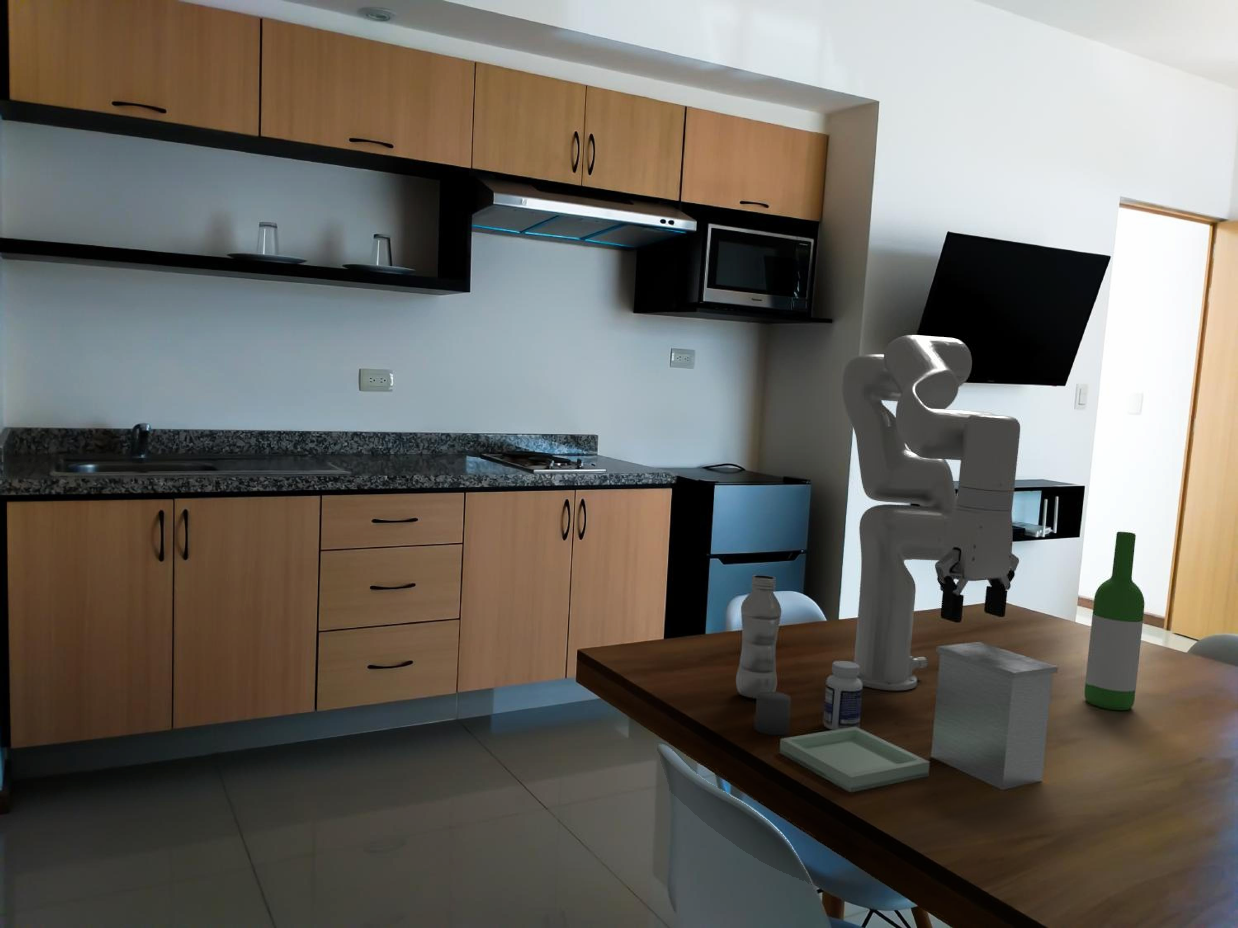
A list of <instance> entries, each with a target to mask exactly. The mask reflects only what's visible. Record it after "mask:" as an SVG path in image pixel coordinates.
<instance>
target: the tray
mask: <svg viewBox="0 0 1238 928" xmlns="http://www.w3.org/2000/svg"><path fill="white" fill-rule="evenodd" d="M779 754H781V755H783V756H784V757H787V758H788V759H790V760H791V761H793V762H795V763H797V764H799V765H801V766H802V767H804V768H806V769H807V770H809V771H811V772H813V773H814V774H816V775H818V776H820V777H822V778H824V779H825V780H827V781H829V782H831V783H833V784H834V785H835V786H837V787H839V788H841V789H843V790H845V791H847V792H849V793H855V792H859V791H865V790H870V789H875V788H877V787H883V786H889V785H892V784H893V785H894V784H898V783H903V782H907V781H908V782H909V781H911V780H918V779H921V778H922V779H923V778H926V777H929V772H930V763H931V761H929V760H927V759H925V758H923V757H921V756H918V755H917V754H914V753H912V752H910V751H908V750H906V749H903V748H902V747H900V746H897V745H895V744H893V743H890V742H889V741H887V740H885V739H884V738H883V739H882V738H880V737H878V736H876V735H874V734H872V733H870V732H868V731H866V730H863V728H862V729H861V728H860V727H859V728H857V727H850V728H844V729H838V730H826V731H821V732H814V733H808V734H802V735H797V736H790V737H784V738H780V742H779Z"/></svg>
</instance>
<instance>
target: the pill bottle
mask: <svg viewBox="0 0 1238 928" xmlns="http://www.w3.org/2000/svg"><path fill="white" fill-rule="evenodd" d="M831 672H832V673H833V674H831V675H829V676H828V677H827V679H826V683H825V692H824V693H825V695H824V696H825V697H824V705H823V706H824V707H823V721H822V723H823V725H824V727H825V728H827V729H828V730H830V731H832V730H838V729H844V728H850V727H857V728H859V729H860V724H861V713H862V712H861V710H862V709H861V708H862V697H863V695H862V694H863V687H864V686H863V685H862V682H861V680H860V679H858V678H857V676H858V675H859V665H858V664H856V663H854V661H848V660H835V661H833V662H832V666H831Z"/></svg>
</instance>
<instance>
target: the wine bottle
mask: <svg viewBox="0 0 1238 928" xmlns="http://www.w3.org/2000/svg"><path fill="white" fill-rule="evenodd" d="M1115 536H1116V537H1115V546H1114V553H1113V563H1112V570H1111V571H1112V572H1111V576H1110V578H1108V579H1107V580H1105V581H1103V582H1102V583H1101V584H1100V585H1099V586H1098V587H1097V589H1096V591H1095V593H1094V597H1093V608H1092V616H1091V625H1090V634H1089V645H1088V654H1087V662H1086V673H1085V684H1084V698H1085V700H1086V701H1087V702H1088V703H1090V704H1091V705H1093V706H1095V707H1099V708H1102V709H1106V710H1110V711H1111V710H1112V711H1127V710H1130V709H1132V708H1133V706H1134V705H1135V699H1136V698H1135V697H1136V691H1137V690H1136V689H1137V683H1138V681H1137V680H1138V672H1139V663H1140V662H1139V661H1140V651H1141V643H1142V635H1143V634H1142V633H1143V624H1144V623H1143V622H1144V612H1145V598H1144V595H1143V592H1142V590H1141V589H1140V587H1139V586H1138V585H1137V584H1136V583H1135V582H1134V581H1133V568H1134V558H1135V549H1136V548H1135V546H1136V536H1137V535H1136V533H1134V532H1129V531H1117V532H1116V535H1115Z"/></svg>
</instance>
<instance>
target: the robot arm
mask: <svg viewBox="0 0 1238 928" xmlns="http://www.w3.org/2000/svg"><path fill="white" fill-rule="evenodd" d="M972 365H973V359H972V355H971V351H970V349H969V347H968V346H967V345H966V343H964V342H963V341H962V340H961V339H957V338H954V337H944V336H931V335H919V334H907V335H903V336H899V337H896V338H895V339H893V340H892V341H891V342H889V344H888V345H887V346H886V348H885V350H884V352H883V354H881V353H880V354H879V353H875V354H874V353H873V354H863V355H858V356H856V357H853V358H852V359H850V360H849V361H848V362H847V364H846V366H845V368H844V370H843V374H842V385H841V388H842V389H841V390H842V391H841V392H842V398H843V399H842V400H843V403H844V407H845V411H846V412H847V413H846V414H847V416H848V418H849V420H850V424H851V426H852V428H853V431H854V434H855V439H856V449H857V456H858V465H859V472H860V478H861V479H860V481H861V484H862V485H861V486H862V488H863V492H864V493H865V495H866V496H867V497H868V498H869V499H871V500H873V501H876V502H884V503H888V504H879V505H878V504H877V505H873V506H871V507H870V508H867V509H866V510H865V511H864V512H863V513H862V515H861V518H860V520H859V526H858V528H859V533H858V534H859V542H860V543H859V544H860V557H861V560H860V561H861V563H860V564H861V567H860V568H861V569H860V570H861V571H860V584H859V597H858V598H859V599H858V608H857V609H858V611H857V623H856V634H855V644H854V645H855V646H854V657H853V658H854V659H853V663H856V664H858V665H859V675H858V676H857V678H858V679H860V680H861V682H862V685H863V686H862V687H866V688H871V689H874V690H875V689H876V690H882V691H907V690H910V689H915V687H916V686H917V684H918V679H917V677H916V675H914V674H913V671H915V670H916V669H922V668H926V667H927V666H928V660H927V658H926V657H924V656H918V657H914V656H912V655H911V647H912V639H913V638H912V636H913V627H914V614H915V613H914V612H915V603H916V602H915V601H916V591H917V588H916V582H915V579H914V577H913V576H912V573H911V572H910V571H909V569H908V567H907V566H906V564H905V561H911V560H915V561H916V560H917V561H919V560H920V561H921V560H922V561H936V562H935V564H934V567H935V572H936V576H937V578H936V580H937V582H938V584H939V585H940V587H939V589H940V591H941V592H942V594H941V595H942V596H941V607H940V618H941V619H943V620H946V621H950V622H953V623H956V624H957V623H958V624H959V623H961V622H962V619H963V608H964V598H965V596H964V594H962V592H963V590H964V589H965V587H966V586H967V584H968V582H978V581H988V583H989V585H986V589H985V596H984V597H985V598H984V609H983V612H984V613H985V614H988V615H991V616H995V617H998V618H1004V617H1005V615H1006V608H1007V601H1008V599H1007V598H1008V591H1009V590H1010V589H1011V587H1012V586H1011V585H1012V584H1011V582H1012V581H1013V580H1014V578H1015V575H1016V573H1015V572H1016V570H1017V568H1018V565H1019V563H1020V559H1019V558H1018V556H1016V555H1015V554H1014V553H1013V535H1014V534H1013V533H1014V532H1013V531H1014V530H1013V505H1014V495H1015V487H1016V486H1015V485H1016V476H1017V465H1018V456H1019V446H1020V436H1021V425H1020V421H1019V420H1018V419H1017V418H1015V417H1013V416H1010V415H1009V416H1008V415H1002V414H1001V415H1000V414H995V413H992V412H986V411H974V410H966V409H965V410H964V409H962V410H961V409H948V408H949V407H950V406H951V405H952V404H953V402H954V401H955V399H956V398H957V396H958V393H959V387H961V386H963V384H964V383H966V381H967V380H968V378H970V374H971V372H972ZM882 401H885V402H897V403H896V406H895V407H896V408H895V415H894V413H893V412H892V411H891V410H890V409H889V408H887V407H886V405H884V403H883V402H882ZM906 446H907V447H906ZM947 460H951V461H953V460H954V461H960V465H959V475H958V485H957V493H956V486H955V482H954V477H953V472H952V469H951V466H950V465H949V463H948V461H947ZM891 503H893V504H891ZM894 503H899V504H894ZM909 504H916V505H909ZM955 580H957V582H955Z"/></svg>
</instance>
